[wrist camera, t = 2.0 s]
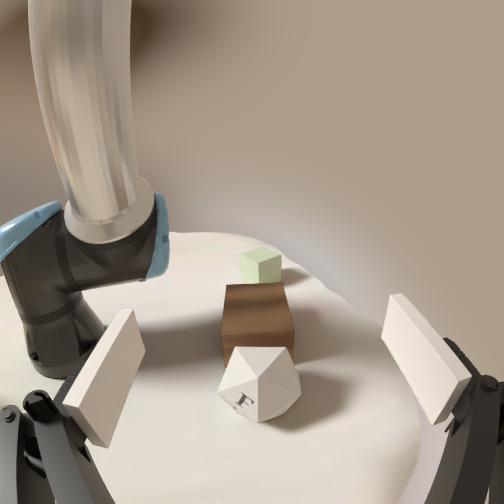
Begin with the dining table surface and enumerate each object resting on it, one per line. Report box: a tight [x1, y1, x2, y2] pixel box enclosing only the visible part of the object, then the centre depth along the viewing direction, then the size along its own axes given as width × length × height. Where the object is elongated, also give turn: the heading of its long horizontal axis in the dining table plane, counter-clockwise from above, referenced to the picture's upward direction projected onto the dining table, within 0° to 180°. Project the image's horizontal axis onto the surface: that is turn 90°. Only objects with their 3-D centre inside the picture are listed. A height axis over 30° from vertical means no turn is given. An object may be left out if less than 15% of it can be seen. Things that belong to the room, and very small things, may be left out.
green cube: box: [240, 247, 281, 284], centre depth 59 cm, size 6×6×6 cm
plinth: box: [221, 282, 294, 368], centre depth 41 cm, size 13×9×6 cm
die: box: [217, 347, 302, 423], centre depth 28 cm, size 8×9×10 cm
